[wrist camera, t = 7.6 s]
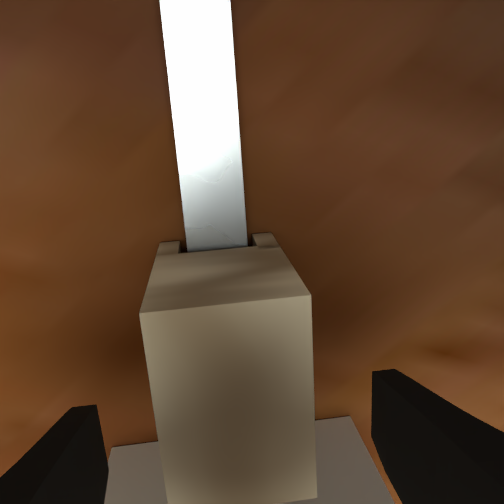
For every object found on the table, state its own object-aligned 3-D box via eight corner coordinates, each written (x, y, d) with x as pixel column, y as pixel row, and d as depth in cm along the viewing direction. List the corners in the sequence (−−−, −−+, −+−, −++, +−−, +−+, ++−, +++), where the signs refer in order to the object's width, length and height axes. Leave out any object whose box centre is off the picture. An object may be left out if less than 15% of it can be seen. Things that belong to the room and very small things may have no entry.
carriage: (271, 232, 17) (310, 294, 11) (279, 376, 18) (316, 497, 12) (159, 242, 16) (139, 313, 10) (178, 389, 18) (170, 519, 12)
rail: (220, -79, 14) (222, -102, 12) (257, 423, 19) (262, 447, 18) (153, -78, 14) (148, -100, 12) (209, 429, 19) (210, 455, 17)
